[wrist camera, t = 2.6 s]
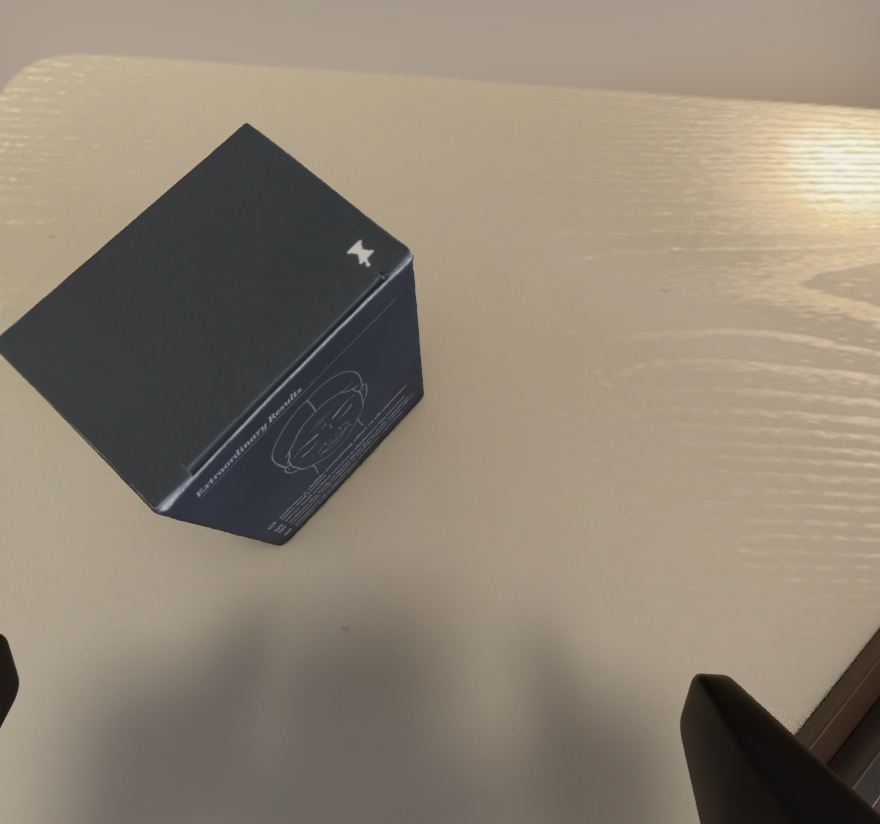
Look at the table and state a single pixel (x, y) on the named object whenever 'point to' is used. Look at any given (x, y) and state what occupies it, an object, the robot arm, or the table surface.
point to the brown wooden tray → (851, 727)
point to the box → (233, 343)
